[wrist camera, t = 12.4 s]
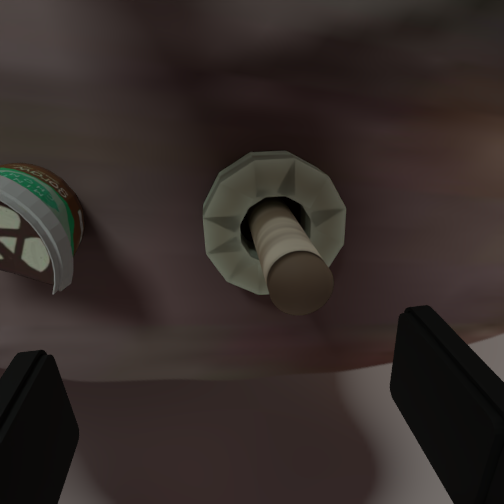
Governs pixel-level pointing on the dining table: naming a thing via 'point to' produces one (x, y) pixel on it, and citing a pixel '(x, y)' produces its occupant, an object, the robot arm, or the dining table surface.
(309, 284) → the peg
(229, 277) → the bead
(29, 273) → the food container
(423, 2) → the dining table surface
